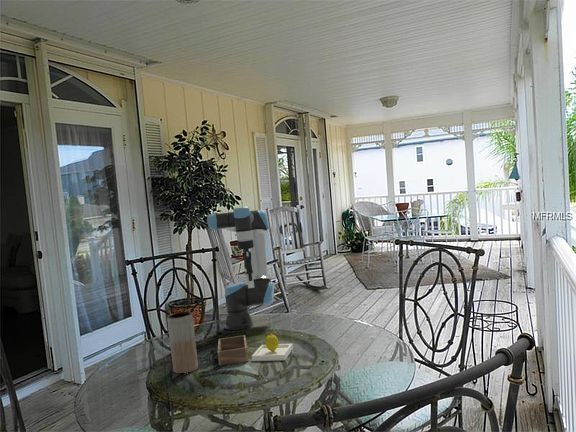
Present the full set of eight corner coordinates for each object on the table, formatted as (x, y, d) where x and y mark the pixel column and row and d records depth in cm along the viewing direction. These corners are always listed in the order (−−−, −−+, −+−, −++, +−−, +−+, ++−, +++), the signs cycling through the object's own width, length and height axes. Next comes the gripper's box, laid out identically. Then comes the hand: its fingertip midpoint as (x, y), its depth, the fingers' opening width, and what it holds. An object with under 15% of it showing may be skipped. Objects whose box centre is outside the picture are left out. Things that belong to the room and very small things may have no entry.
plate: (262, 349, 194) (261, 344, 194) (293, 348, 191) (292, 343, 191) (252, 361, 181) (251, 355, 181) (284, 360, 177) (284, 354, 177)
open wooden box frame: (220, 351, 199) (218, 339, 199) (246, 346, 201) (245, 335, 201) (219, 365, 180) (217, 352, 180) (248, 360, 181) (246, 347, 181)
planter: (171, 368, 182) (165, 314, 182) (195, 363, 186) (189, 310, 186) (175, 376, 173) (168, 319, 173) (200, 370, 177) (194, 314, 177)
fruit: (264, 354, 184) (262, 335, 184) (269, 349, 190) (267, 331, 189) (276, 354, 182) (274, 335, 182) (281, 349, 188) (279, 331, 187)
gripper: (235, 238, 216) (240, 281, 217) (238, 243, 192) (243, 291, 193) (251, 237, 217) (255, 279, 218) (255, 241, 193) (260, 289, 194)
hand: (250, 285), depth 205 cm, fingers open, 13 cm apart
